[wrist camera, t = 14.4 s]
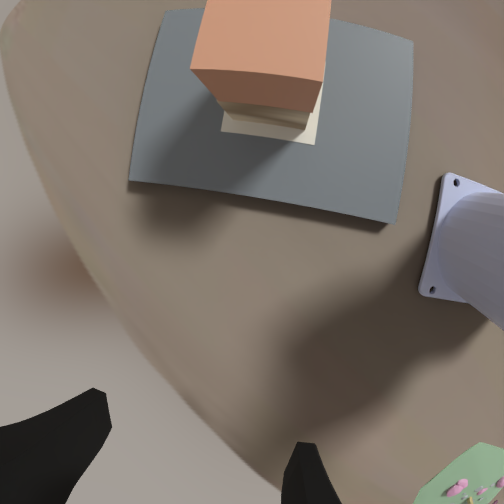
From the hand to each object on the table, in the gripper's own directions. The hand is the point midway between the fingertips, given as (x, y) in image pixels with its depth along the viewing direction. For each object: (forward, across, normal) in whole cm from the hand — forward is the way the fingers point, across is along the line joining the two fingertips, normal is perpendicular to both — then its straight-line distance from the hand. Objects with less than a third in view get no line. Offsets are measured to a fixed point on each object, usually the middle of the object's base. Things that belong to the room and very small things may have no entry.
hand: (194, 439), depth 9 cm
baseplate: (+10, 0, -14) cm, 17 cm away
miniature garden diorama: (+11, -34, +23) cm, 43 cm away
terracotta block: (+5, 0, -14) cm, 15 cm away
